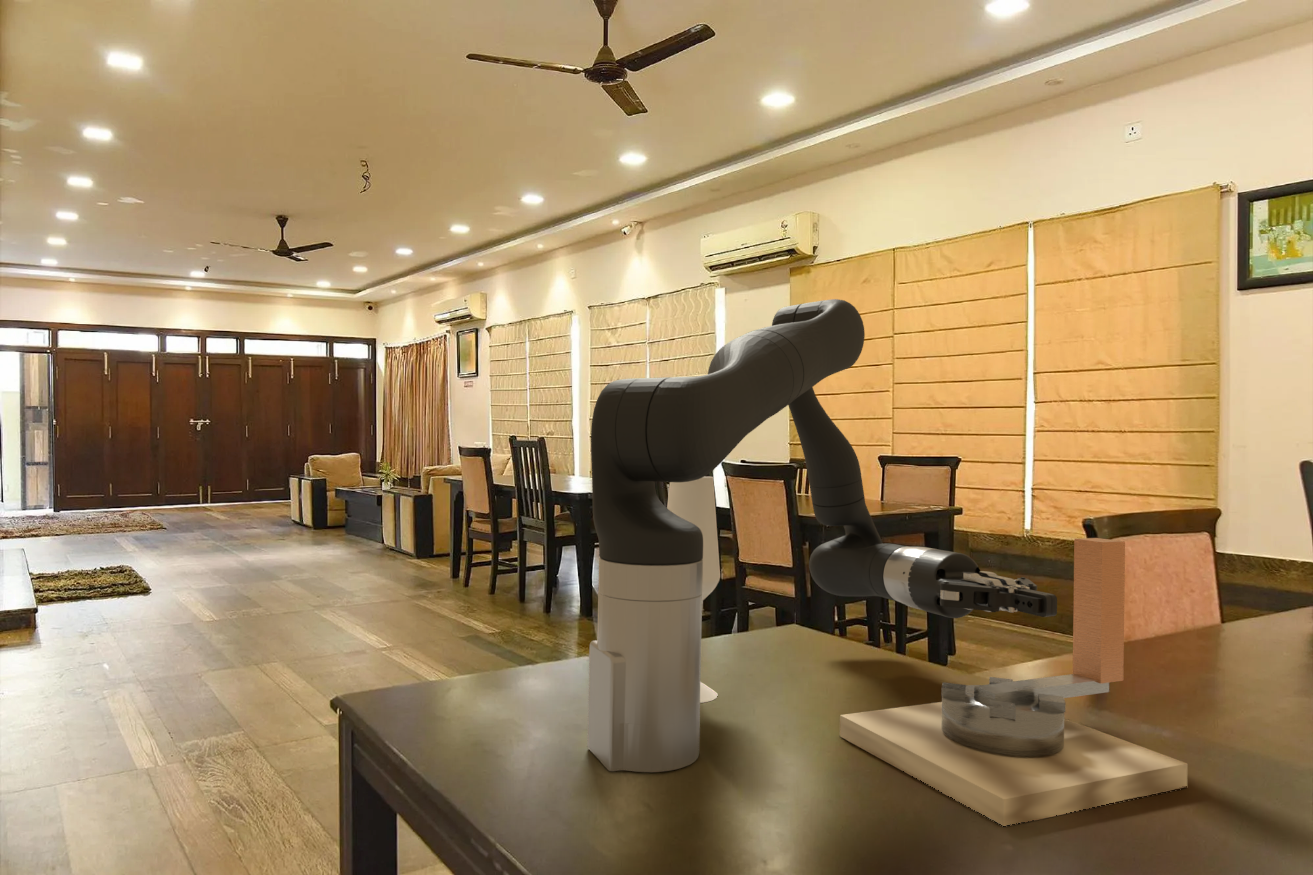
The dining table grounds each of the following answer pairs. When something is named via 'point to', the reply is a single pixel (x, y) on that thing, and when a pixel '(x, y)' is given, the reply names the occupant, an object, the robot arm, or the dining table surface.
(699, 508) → the champagne flute
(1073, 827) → the dining table surface
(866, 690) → the dining table surface
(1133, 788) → the maple base
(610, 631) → the robot arm
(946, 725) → the grey disc with bar
